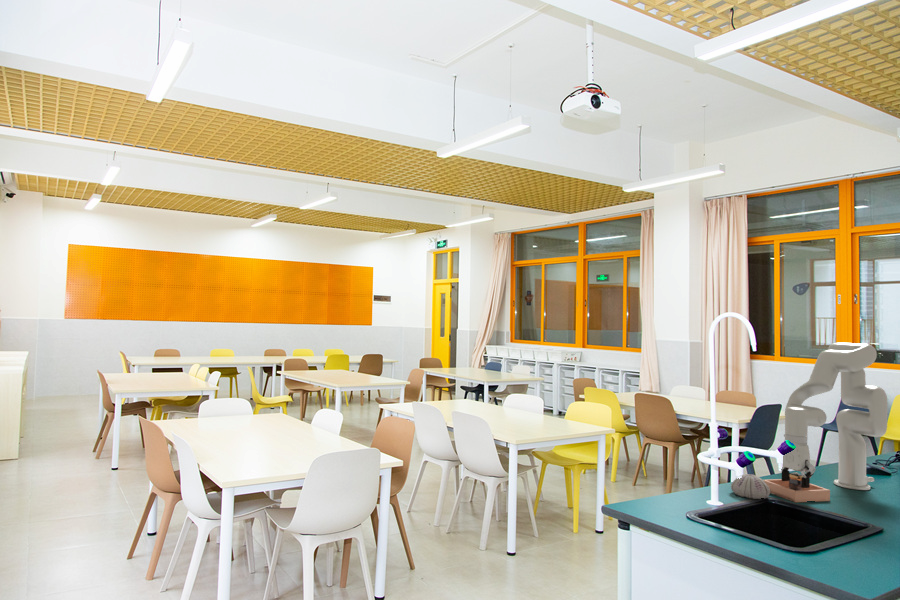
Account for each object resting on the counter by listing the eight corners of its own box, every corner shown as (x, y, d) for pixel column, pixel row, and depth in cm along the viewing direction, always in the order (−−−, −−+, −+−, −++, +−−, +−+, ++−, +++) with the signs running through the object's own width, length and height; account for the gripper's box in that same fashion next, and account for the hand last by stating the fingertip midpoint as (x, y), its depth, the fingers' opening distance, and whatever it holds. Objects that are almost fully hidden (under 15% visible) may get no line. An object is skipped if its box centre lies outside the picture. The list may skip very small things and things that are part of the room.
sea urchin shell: (773, 503, 215) (773, 481, 215) (733, 498, 219) (733, 476, 219) (766, 493, 227) (766, 472, 227) (728, 489, 231) (728, 468, 232)
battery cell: (795, 490, 228) (796, 471, 229) (804, 494, 224) (805, 474, 224) (785, 490, 227) (786, 471, 228) (795, 494, 223) (796, 474, 223)
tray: (794, 488, 236) (795, 478, 236) (829, 500, 220) (830, 490, 220) (761, 489, 232) (762, 479, 232) (795, 502, 216) (795, 491, 216)
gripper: (770, 435, 234) (769, 478, 233) (807, 444, 217) (806, 491, 217) (785, 435, 236) (785, 478, 235) (823, 444, 219) (822, 490, 219)
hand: (795, 484), depth 226 cm, fingers open, 9 cm apart
